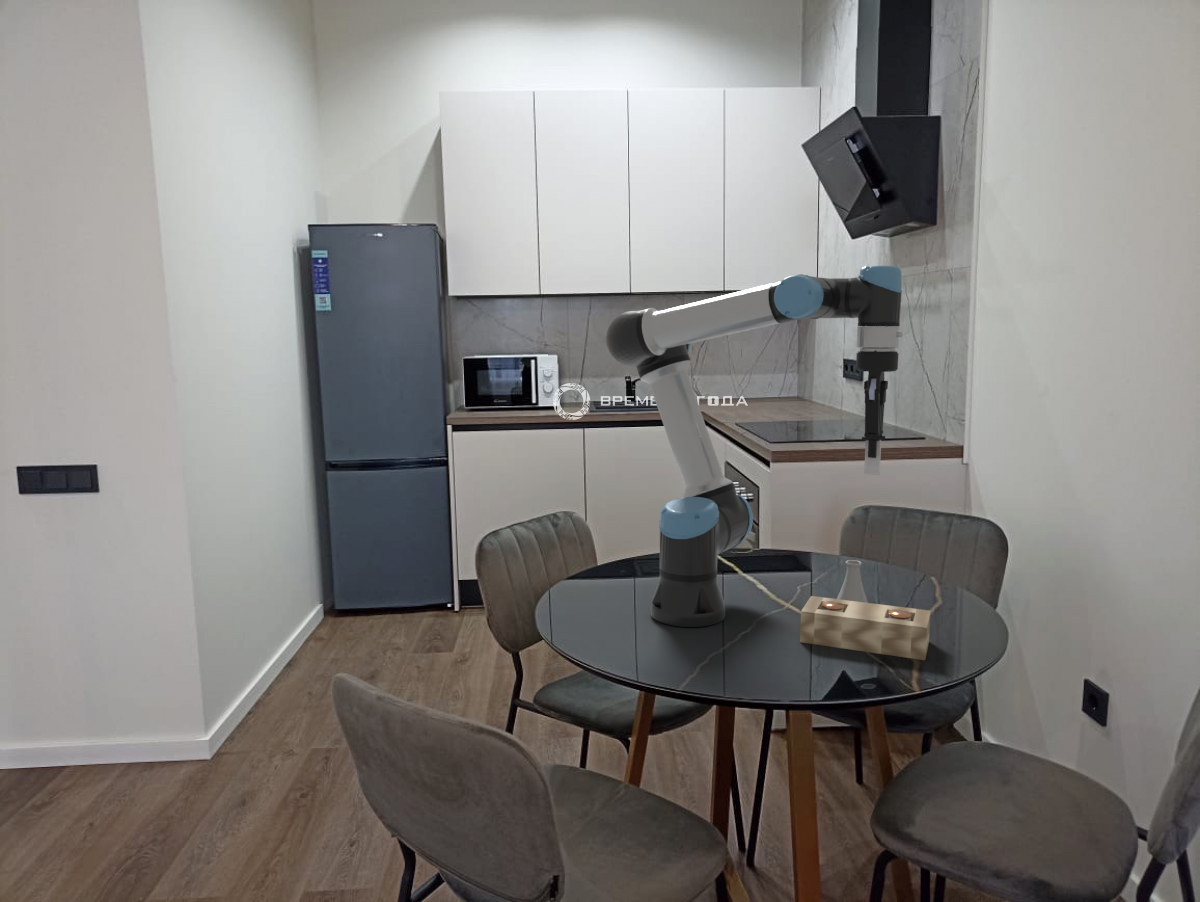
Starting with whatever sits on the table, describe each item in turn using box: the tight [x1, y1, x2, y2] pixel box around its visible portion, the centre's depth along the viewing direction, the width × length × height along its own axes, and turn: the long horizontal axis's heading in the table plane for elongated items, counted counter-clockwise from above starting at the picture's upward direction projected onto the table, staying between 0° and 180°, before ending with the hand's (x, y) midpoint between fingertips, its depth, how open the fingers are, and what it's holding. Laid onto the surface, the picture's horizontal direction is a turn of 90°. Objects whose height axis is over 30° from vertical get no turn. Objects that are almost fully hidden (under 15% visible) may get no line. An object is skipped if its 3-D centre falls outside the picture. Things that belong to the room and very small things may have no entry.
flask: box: [836, 559, 869, 603], centre depth 181 cm, size 7×7×10 cm
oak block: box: [799, 595, 932, 661], centre depth 162 cm, size 22×10×6 cm, turn 66°
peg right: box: [888, 609, 911, 621], centre depth 159 cm, size 4×4×6 cm
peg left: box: [822, 601, 844, 612], centre depth 164 cm, size 4×4×6 cm
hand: (872, 473), depth 166 cm, fingers closed
